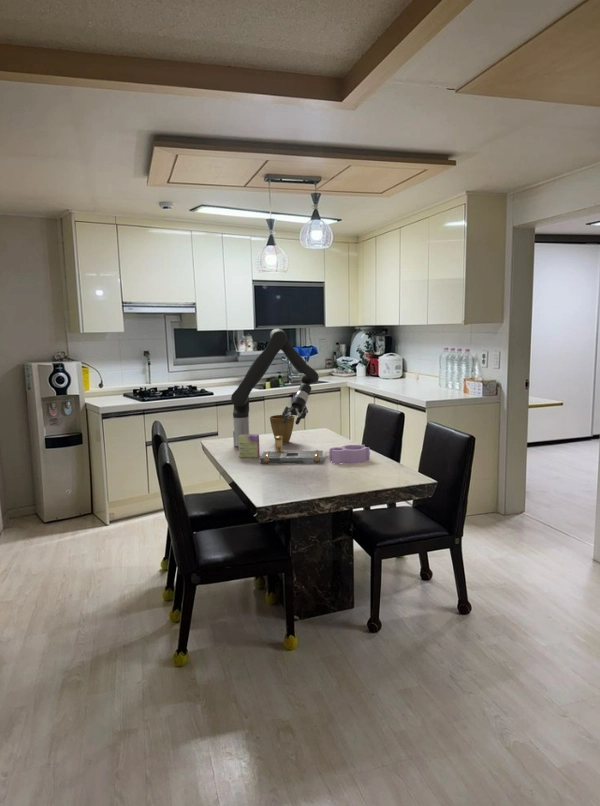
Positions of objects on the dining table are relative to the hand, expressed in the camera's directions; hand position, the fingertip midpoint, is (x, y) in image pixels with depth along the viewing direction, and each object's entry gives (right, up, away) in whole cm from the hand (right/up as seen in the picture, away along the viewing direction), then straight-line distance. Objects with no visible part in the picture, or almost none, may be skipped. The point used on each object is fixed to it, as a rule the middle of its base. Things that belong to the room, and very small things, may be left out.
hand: (290, 423), depth 292 cm
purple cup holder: (+31, -19, -24) cm, 43 cm away
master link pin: (-6, -17, -7) cm, 19 cm away
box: (-22, -18, -9) cm, 30 cm away
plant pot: (-5, -13, +20) cm, 24 cm away
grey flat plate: (+2, -19, -19) cm, 27 cm away
